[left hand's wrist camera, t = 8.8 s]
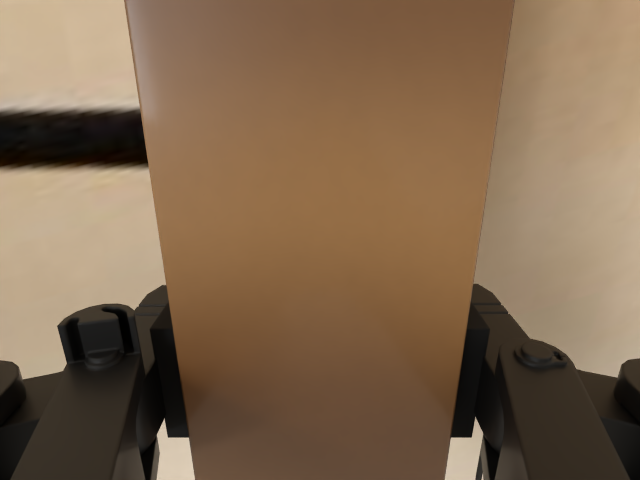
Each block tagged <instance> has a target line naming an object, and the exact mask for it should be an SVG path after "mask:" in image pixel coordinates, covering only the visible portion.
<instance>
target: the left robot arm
mask: <svg viewBox="0 0 640 480" xmlns="http://www.w3.org/2000/svg"><path fill="white" fill-rule="evenodd" d="M57 327H58V331H59V334H60V338H61V342H62V346H63V350H64V353H65V357H66V361H67V365H66V367H65V369H64V371H62V372H58V373H54V374H49V375H44V376H39V377H34V378H29V379H24V380H23V379H22V376H21V373H20V370H19V367H18V366H17V365H16V364H14V363H13V362H9V361H1V360H0V480H156V479H157V471H158V462H159V454H160V452H159V445H158V440H157V433H158V431H159V429H160V426H161V424H162V422H163V420H164V418H165V423H166V429H167V434H168V437H189V434H188V427H187V421H186V414H185V407H184V400H183V394H182V387H181V380H180V373H179V367H178V360H177V353H176V346H175V340H174V333H173V326H172V319H171V312H170V306H169V299H168V292H167V285H162V286H160V287H159V288H157V289H155V290H154V291H152V292H150V293H149V294H147V296H146V297H145V298H144V299H143V300H142V302H141V303H140V304H139V307H137V308H136V309H135V310H133V309H132V308H130V307H129V306H126V305H122V304H102V305H97V306H92V307H88V308H85V309H83V310H80V311H77V312H75V313H73V314H72V315H70V316H68V317H66V318H65V319H64V320H63V321H62V322H61V323H60V324H59V325H58V326H57ZM475 416H476V419H477V421H478V423H479V425H480V427H481V429H482V431H483V440H482V445H481V450H480V456H479V461H478V467H477V473H476V479H475V480H481V479H482V473H483V478H484V480H640V359H632V360H627V361H626V362H625V363H623V364H622V365H621V369H620V372H619V375H618V378H616V377H611V376H606V375H600V374H595V373H590V372H585V371H581V370H577V369H576V368H575V366H574V364H573V362H572V361H571V360H570V358H569V357H568V356H567V355H566V354H565V353H563V352H562V351H560V350H559V349H557V348H556V347H554V346H552V345H549V344H547V343H544V342H542V341H538V340H533V339H530V338H529V337H528V336H527V335H526V333H525V332H524V331H523V330H522V328H521V327H520V326H519V325H518V324H517V322H516V321H515V320H514V319H513V317H512V316H511V315H510V314H508V311H507V310H506V309H505V308H504V306H503V305H501V303H500V302H499V300H498V299H497V298H496V297H495V295H494V294H493V293H492V292H490V291H488V290H487V289H485V288H483V287H482V286H480V285H478V284H473V289H472V295H471V302H470V309H469V316H468V323H467V330H466V336H465V343H464V350H463V357H462V364H461V371H460V377H459V384H458V391H457V398H456V405H455V412H454V418H453V425H452V432H451V437H472V433H473V427H474V421H475Z"/></svg>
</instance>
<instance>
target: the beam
mask: <svg viewBox="0 0 640 480" xmlns="http://www.w3.org/2000/svg"><path fill="white" fill-rule="evenodd" d="M514 1H515V0H124V2H125V9H126V15H127V22H128V29H129V36H130V42H131V49H132V56H133V63H134V69H135V76H136V83H137V90H138V96H139V103H140V110H141V117H142V123H143V130H144V137H145V144H146V150H147V157H148V164H149V171H150V177H151V184H152V191H153V198H154V204H155V211H156V218H157V225H158V231H159V238H160V245H161V252H162V258H163V265H164V272H165V279H166V285H167V292H168V299H169V306H170V312H171V319H172V326H173V333H174V340H175V346H176V353H177V360H178V367H179V373H180V380H181V387H182V394H183V400H184V407H185V414H186V421H187V427H188V434H189V441H190V448H191V454H192V461H193V468H194V475H195V480H445V473H446V466H447V460H448V453H449V446H450V439H451V432H452V425H453V418H454V412H455V405H456V398H457V391H458V384H459V377H460V371H461V364H462V357H463V350H464V343H465V336H466V330H467V323H468V316H469V309H470V302H471V295H472V289H473V282H474V275H475V268H476V261H477V254H478V247H479V241H480V234H481V227H482V220H483V213H484V206H485V200H486V193H487V186H488V179H489V172H490V165H491V159H492V152H493V145H494V138H495V131H496V124H497V118H498V111H499V104H500V97H501V90H502V83H503V76H504V70H505V63H506V56H507V49H508V42H509V35H510V29H511V22H512V15H513V8H514Z"/></svg>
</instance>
